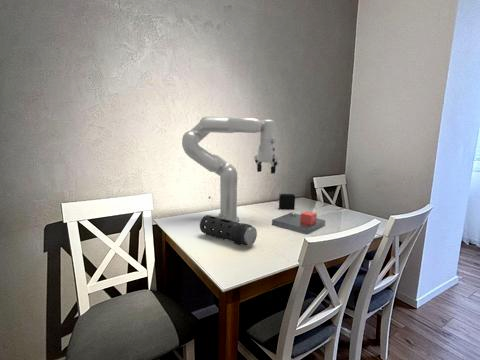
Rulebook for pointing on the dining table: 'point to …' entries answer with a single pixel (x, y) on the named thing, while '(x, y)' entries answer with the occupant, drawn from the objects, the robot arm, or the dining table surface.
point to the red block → (308, 217)
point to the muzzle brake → (228, 230)
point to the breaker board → (297, 223)
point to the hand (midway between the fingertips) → (266, 172)
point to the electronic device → (287, 201)
